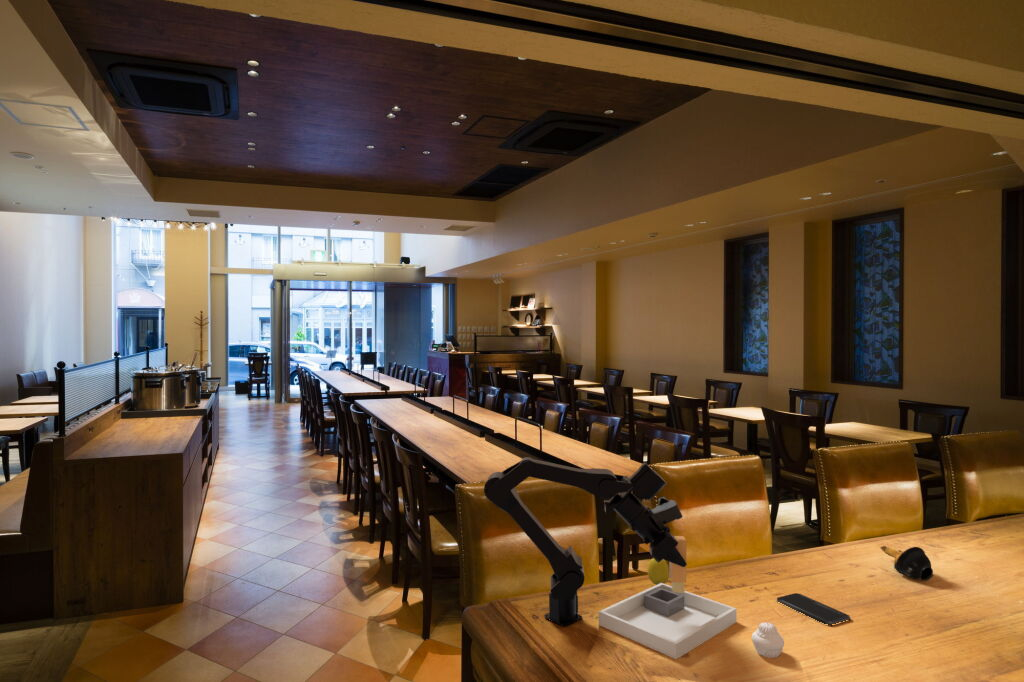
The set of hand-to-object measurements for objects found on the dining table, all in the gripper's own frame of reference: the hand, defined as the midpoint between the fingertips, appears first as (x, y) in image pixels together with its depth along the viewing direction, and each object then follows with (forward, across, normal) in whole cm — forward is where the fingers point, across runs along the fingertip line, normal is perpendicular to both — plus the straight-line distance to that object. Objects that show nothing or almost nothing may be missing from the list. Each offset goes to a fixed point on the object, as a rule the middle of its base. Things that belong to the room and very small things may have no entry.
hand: (683, 562), depth 138 cm
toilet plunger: (+57, +34, -39) cm, 77 cm away
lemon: (+8, +20, +11) cm, 24 cm away
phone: (+32, +8, -13) cm, 35 cm away
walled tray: (+7, -3, +12) cm, 15 cm away
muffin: (+19, -15, 0) cm, 24 cm away
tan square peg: (+4, 0, +6) cm, 7 cm away
